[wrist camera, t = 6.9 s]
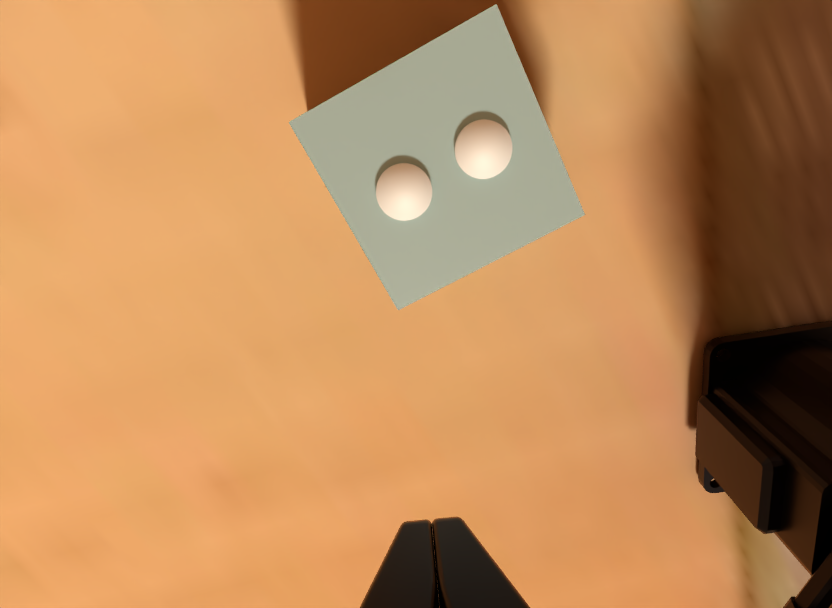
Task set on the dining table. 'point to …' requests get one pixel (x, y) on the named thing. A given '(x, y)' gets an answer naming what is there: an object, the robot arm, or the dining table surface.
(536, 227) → the dotted block two
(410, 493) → the dining table surface
